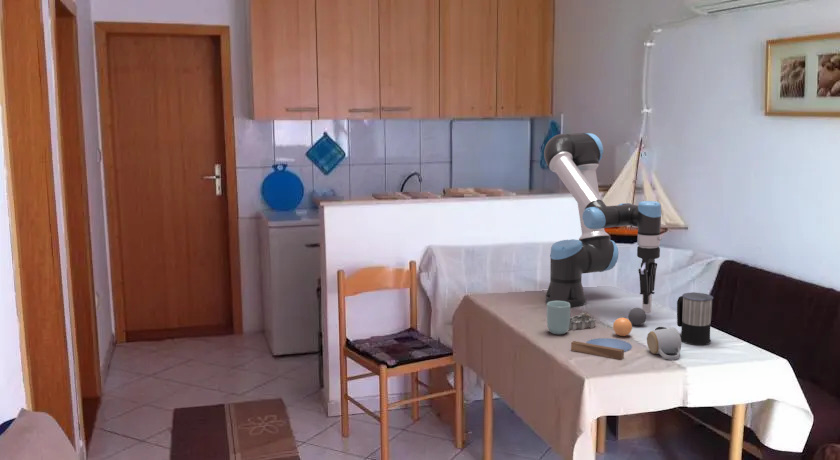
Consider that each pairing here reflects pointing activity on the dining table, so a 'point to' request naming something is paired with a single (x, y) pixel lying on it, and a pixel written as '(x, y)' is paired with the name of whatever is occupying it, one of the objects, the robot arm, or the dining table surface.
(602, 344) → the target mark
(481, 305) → the dining table surface
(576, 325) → the egg carton
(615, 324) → the terracotta ball
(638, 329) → the dining table surface
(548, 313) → the cup
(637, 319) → the dark gray ball
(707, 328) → the milk frother
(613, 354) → the wall
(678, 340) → the ceramic mug
